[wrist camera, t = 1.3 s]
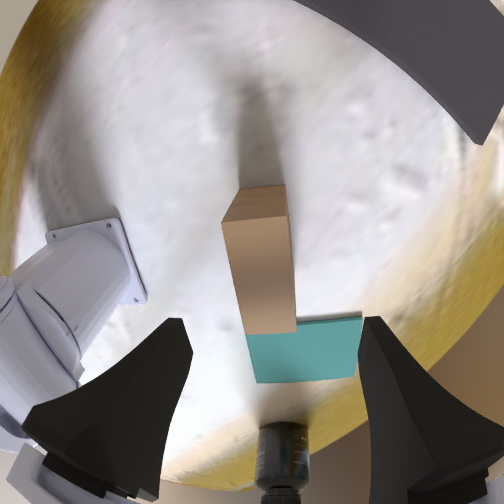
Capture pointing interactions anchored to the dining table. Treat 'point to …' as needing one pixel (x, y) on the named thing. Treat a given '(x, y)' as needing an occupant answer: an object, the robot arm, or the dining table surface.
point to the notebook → (436, 50)
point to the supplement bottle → (282, 463)
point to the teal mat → (307, 351)
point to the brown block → (261, 259)
